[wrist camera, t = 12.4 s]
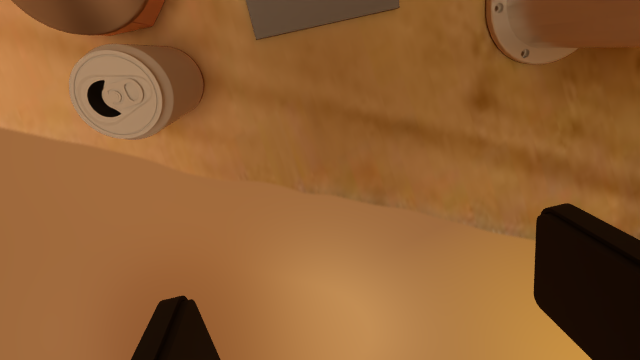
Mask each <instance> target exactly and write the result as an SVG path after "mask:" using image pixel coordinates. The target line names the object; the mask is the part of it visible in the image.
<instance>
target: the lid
mask: <svg viewBox="0 0 640 360" xmlns="http://www.w3.org/2000/svg"><path fill="white" fill-rule="evenodd" d="M12 1H13V2H14V3H15V4H16V5H17V6H18V7H19V8H20V9H22V10H23V11H24V12H25V13H27V14H28V15H29V16H31V17H32V18H34V19H36V20H37V21H39V22H41V23H43V24H45V25H47V26H49V27H51V28H54V29H57V30H59V31H63V32H67V33H72V34H81V35H103V34H109V33H112V32H116V31H118V30H120V29H122V28H124V27H126V26H127V25H129V24H130V23H132V22H133V21H134V20H135V19H136V18H137V17H138V16H139V15H140V14H141V12H142V11H143V10H144V8H145V6H146V4H147V3H148V1H149V0H12Z"/></svg>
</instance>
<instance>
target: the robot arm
mask: <svg viewBox="0 0 640 360" xmlns="http://www.w3.org/2000/svg"><path fill="white" fill-rule="evenodd" d="M495 8H496V10H495ZM486 17H487V24H488V28H489V31H490V34H491V37H492V39H493V41H494V42H495V44H496V45H497V47H498V48H499V49H500V50H501V51H502V52H503V53H504V54H505V55H506V56H508V57H509V58H511V59H512V60H515V61H518V62H521V63H525V64H547V63H551V62H555V61H558V60H560V59H562V58H564V57H567V56H568V55H570V54H571V53H573V52H574V51H576V50H577V49H578V48H613V47H640V0H486ZM534 276H535V277H534V298H535V300H536V303H537V304H538V306H539V307H540V308H541V309H542V310H543V311H544V312H545V313H546V314H547V315H548V316H549V317H550V318H551V319H552V320H553V321H554V322H555V323H556V324H557V325H558V326H559V327H560V328H561V329H562V330H563V331H564V332H565V333H566V334H567V335H568V336H569V337H570V338H571V339H572V340H573V341H574V342H575V343H576V344H577V345H578V346H579V347H580V348H581V349H582V350H583V351H584V352H585V353H586V354H587V355H588V356H589V357H590V358H591V359H592V360H640V240H638V239H636V238H634V237H633V236H631V235H629V234H627V233H625V232H623V231H621V230H619V229H617V228H615V227H614V226H612V225H610V224H608V223H606V222H604V221H602V220H600V219H598V218H596V217H595V216H593V215H591V214H589V213H587V212H585V211H583V210H581V209H579V208H577V207H575V206H574V205H571V204H561V205H557V206H553V207H549V208H545V209H544V210H543V211H542V212H541V215H540V216H538V218H537V223H536V250H535V274H534ZM131 360H220V358H219V355H218V353H217V351H216V349H215V347H214V344H213V342H212V340H211V337H210V335H209V333H208V331H207V328H206V326H205V324H204V321H203V319H202V317H201V315H200V312H199V310H198V308H197V306H196V303H195V302H194V301H193V300H192V299H191V300H188V299H187V298H186V297H185V296H179V297H175V298H171V299H166V300H162V301H160V302H159V304H158V305H157V307H156V310H155V312H154V314H153V316H152V318H151V320H150V322H149V324H148V326H147V328H146V330H145V332H144V334H143V336H142V338H141V340H140V342H139V344H138V346H137V348H136V350H135V352H134V355H133V357H132V359H131Z"/></svg>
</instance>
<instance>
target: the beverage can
mask: <svg viewBox="0 0 640 360" xmlns="http://www.w3.org/2000/svg"><path fill="white" fill-rule="evenodd" d="M202 93H203V78H202V75H201V72H200V70H199V68H198V66H197V65H196V63H195V62H194V61H193V60H192V59H191V58H190V57H189V56H188V55H187V54H185V53H184V52H182V51H180V50H178V49H175V48H172V47H166V46H147V45H128V44H107V45H102V46H99V47H97V48H94V49H92V50H91V51H89V52H88V53H87V54H86V55H85V56H84V57H83V58H81V59H80V60H79V61H78V62H77V63H76V65H75V66H74V68H73V70H72V72H71V75H70V79H69V94H70V98H71V101H72V104H73V106H74V108H75V110H76V111H77V113H78V114H79V116H80V117H81V118H82V119H83V120H84V121H85V122H86V123H87V124H88V125H89V126H90V127H92V128H93V129H95V130H96V131H98V132H100V133H102V134H104V135H107V136H110V137H114V138H120V139H129V140H136V139H143V138H147V137H150V136H152V135H154V134H156V133H157V132H159V131H160V130H162V129H163V128H165V127H166V126H168V125H169V124H171V123H173V122H174V121H176V120H177V119H179V118H180V117H182V116H183V115H185V114H186V113H188V112H189V111H191V110H192V109H193V108H195V107H196V105H197V104H198V103H199V101H200V99H201V97H202Z"/></svg>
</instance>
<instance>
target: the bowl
mask: <svg viewBox="0 0 640 360" xmlns="http://www.w3.org/2000/svg"><path fill="white" fill-rule="evenodd" d="M164 1H165V0H149V1H148V3H147V4H146V6H145V8H144V10H143V11H142V12H141V14H140V15H139V16H138V17H137V18H136V19H135V20H134V21H133V22H132V23H130V24H129V25H127V26H126V27H124V28H122V29H120V30H118V31H116V32H112V33H109V34H103V35H105V36H111V35H116V34H120V33H125V32H129V31H134V30H138V29H143V28H147V27H152V25H154V23H155V21H156V19H157V16H158V14H159V12H160V10H161V8H162V6H163V3H164Z"/></svg>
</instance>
